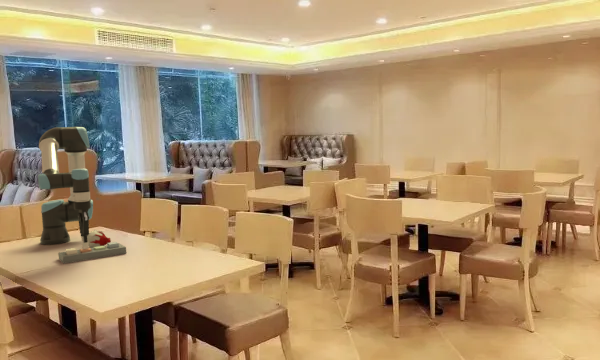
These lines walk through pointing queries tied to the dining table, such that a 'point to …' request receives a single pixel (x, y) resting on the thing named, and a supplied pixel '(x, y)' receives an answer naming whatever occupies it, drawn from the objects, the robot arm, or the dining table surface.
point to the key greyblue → (112, 245)
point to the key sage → (99, 248)
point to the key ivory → (71, 251)
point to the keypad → (91, 254)
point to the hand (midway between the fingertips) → (85, 248)
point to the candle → (97, 239)
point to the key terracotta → (85, 250)
